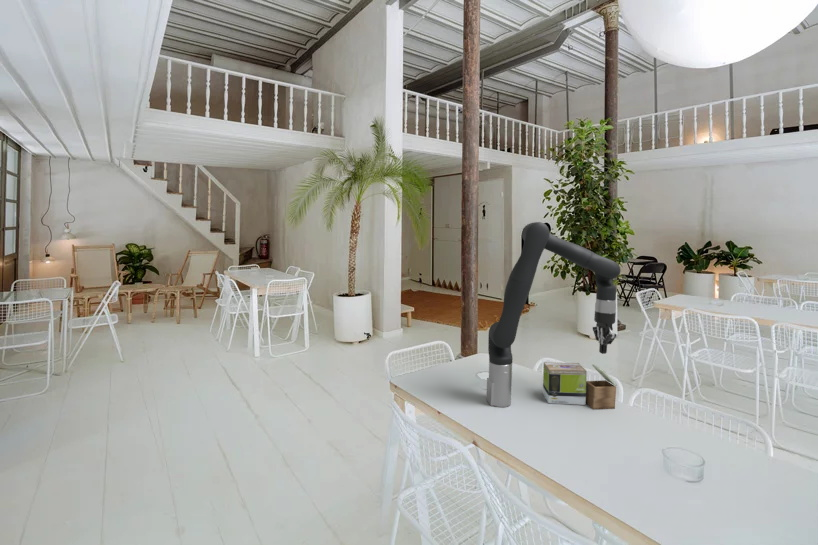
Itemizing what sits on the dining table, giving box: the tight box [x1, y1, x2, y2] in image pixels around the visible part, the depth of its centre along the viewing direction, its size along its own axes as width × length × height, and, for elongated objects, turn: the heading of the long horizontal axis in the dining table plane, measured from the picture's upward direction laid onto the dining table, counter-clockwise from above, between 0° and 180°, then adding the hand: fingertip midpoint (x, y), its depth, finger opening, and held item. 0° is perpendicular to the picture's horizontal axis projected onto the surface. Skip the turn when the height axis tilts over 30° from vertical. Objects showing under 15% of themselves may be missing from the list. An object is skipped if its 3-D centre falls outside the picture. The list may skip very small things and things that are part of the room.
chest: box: [585, 379, 617, 410], centre depth 165 cm, size 9×7×9 cm
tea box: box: [542, 361, 588, 406], centre depth 170 cm, size 15×10×15 cm, turn 84°
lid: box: [591, 364, 617, 387], centre depth 164 cm, size 9×7×1 cm
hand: (602, 353), depth 163 cm, fingers closed
